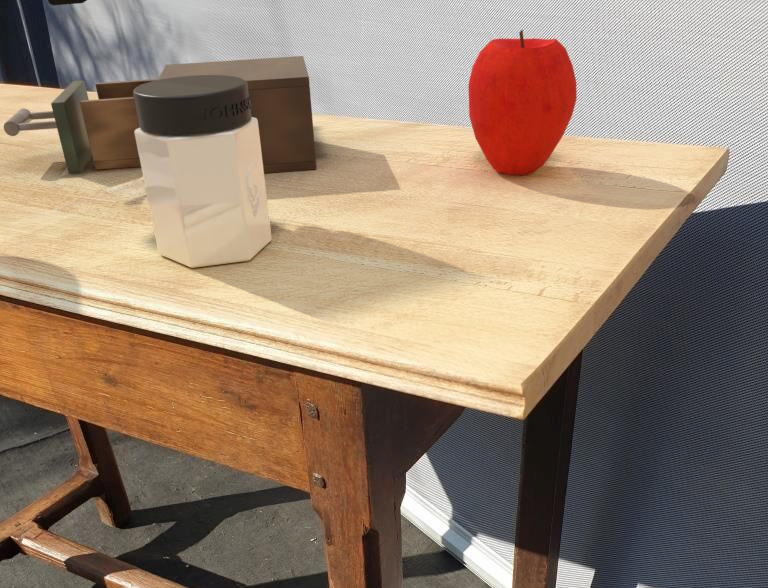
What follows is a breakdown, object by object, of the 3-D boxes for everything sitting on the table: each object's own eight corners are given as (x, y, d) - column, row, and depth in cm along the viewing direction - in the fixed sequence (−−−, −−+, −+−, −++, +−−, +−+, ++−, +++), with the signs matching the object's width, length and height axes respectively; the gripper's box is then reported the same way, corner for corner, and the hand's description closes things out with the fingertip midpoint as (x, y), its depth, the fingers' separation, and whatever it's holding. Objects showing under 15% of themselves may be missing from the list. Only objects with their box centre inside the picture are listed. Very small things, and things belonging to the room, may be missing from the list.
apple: (573, 157, 84) (585, 21, 77) (566, 186, 76) (578, 37, 69) (475, 155, 86) (478, 22, 79) (458, 183, 78) (459, 38, 71)
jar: (241, 272, 62) (216, 98, 55) (143, 265, 64) (107, 97, 57) (284, 232, 69) (267, 73, 62) (195, 227, 71) (168, 72, 64)
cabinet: (170, 180, 83) (153, 86, 78) (180, 149, 93) (165, 64, 88) (316, 169, 84) (308, 76, 79) (310, 139, 94) (303, 55, 89)
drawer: (9, 181, 81) (-12, 107, 78) (35, 152, 91) (17, 84, 87) (207, 166, 83) (195, 93, 79) (212, 139, 92) (202, 72, 88)
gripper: (-21, -256, 69) (43, -3, 79) (-80, -288, 57) (5, 16, 67) (71, -261, 69) (123, -9, 80) (32, -294, 57) (99, 9, 68)
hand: (69, 2), depth 73 cm, fingers closed
